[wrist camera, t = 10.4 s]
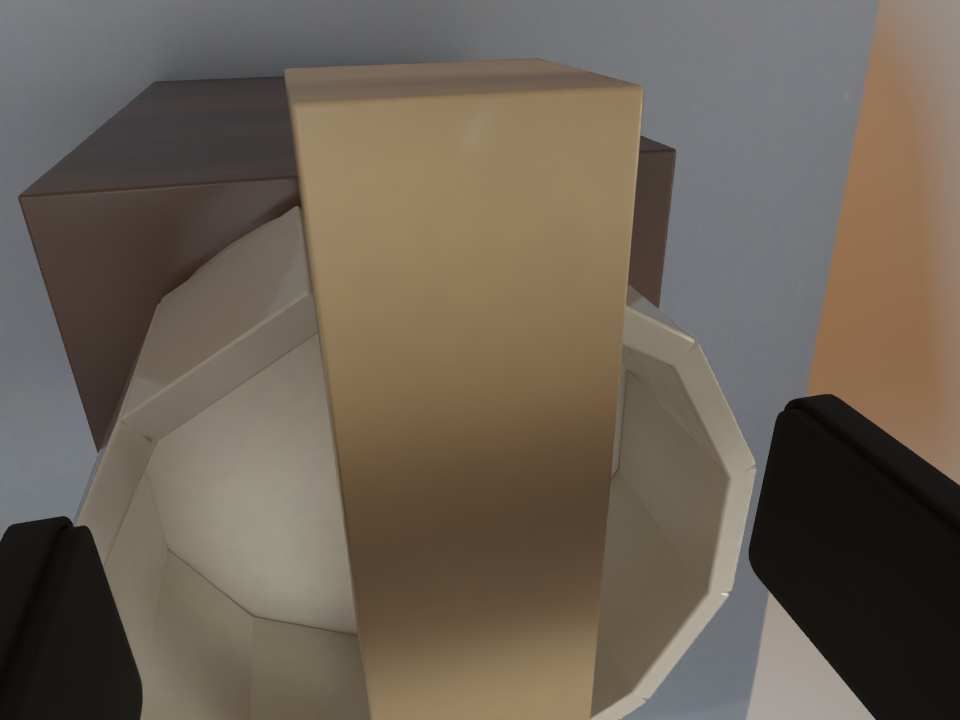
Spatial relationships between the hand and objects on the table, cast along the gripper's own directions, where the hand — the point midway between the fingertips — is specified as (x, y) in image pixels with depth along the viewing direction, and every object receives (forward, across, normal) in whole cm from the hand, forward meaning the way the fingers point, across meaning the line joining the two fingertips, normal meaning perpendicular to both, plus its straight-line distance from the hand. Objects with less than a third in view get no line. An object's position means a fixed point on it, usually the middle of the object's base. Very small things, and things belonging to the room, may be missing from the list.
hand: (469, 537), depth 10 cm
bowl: (+7, 0, +3) cm, 8 cm away
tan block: (+2, 0, +3) cm, 4 cm away
